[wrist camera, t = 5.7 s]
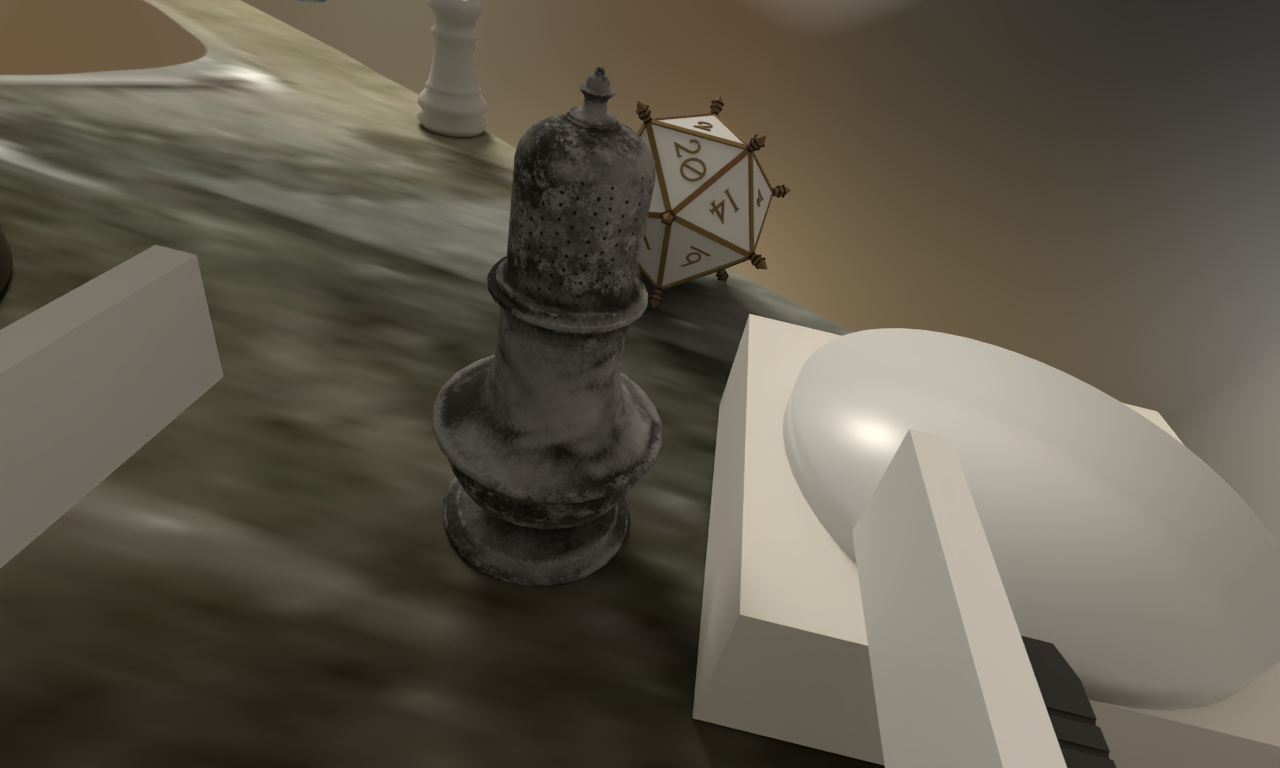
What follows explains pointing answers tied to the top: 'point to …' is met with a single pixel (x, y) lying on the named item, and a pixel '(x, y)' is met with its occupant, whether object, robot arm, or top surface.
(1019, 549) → the kitchen scale
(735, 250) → the game die
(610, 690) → the top surface
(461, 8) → the rook chess piece
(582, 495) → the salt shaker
